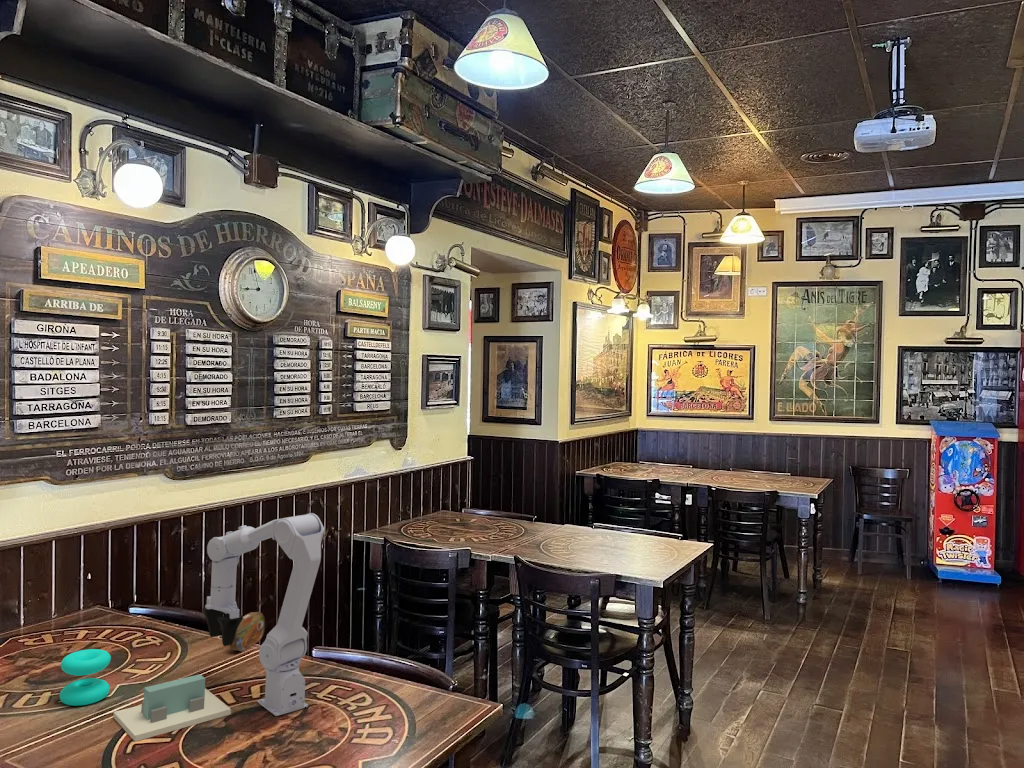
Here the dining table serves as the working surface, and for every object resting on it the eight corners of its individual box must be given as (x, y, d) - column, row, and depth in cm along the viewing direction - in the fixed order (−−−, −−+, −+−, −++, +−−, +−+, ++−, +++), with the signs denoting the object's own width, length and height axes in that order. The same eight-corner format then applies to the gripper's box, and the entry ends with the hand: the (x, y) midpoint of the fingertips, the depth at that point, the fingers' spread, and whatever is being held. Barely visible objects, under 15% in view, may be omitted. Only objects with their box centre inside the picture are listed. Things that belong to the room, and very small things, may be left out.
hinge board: (230, 714, 166) (231, 698, 166) (134, 741, 152) (135, 724, 152) (205, 693, 176) (206, 678, 176) (113, 717, 163) (114, 700, 162)
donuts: (71, 666, 164) (53, 654, 170) (69, 712, 164) (52, 698, 170) (118, 655, 172) (100, 644, 178) (116, 698, 172) (98, 685, 178)
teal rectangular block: (204, 705, 168) (205, 678, 168) (147, 720, 159) (148, 692, 159) (198, 700, 170) (200, 674, 170) (142, 715, 162) (144, 687, 162)
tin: (236, 656, 201) (237, 624, 201) (225, 654, 201) (227, 623, 201) (265, 637, 215) (266, 608, 215) (255, 636, 216) (257, 607, 216)
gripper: (195, 580, 185) (193, 635, 185) (219, 594, 175) (217, 652, 175) (223, 576, 190) (221, 629, 190) (248, 589, 180) (246, 646, 180)
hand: (221, 640), depth 183 cm, fingers open, 7 cm apart
